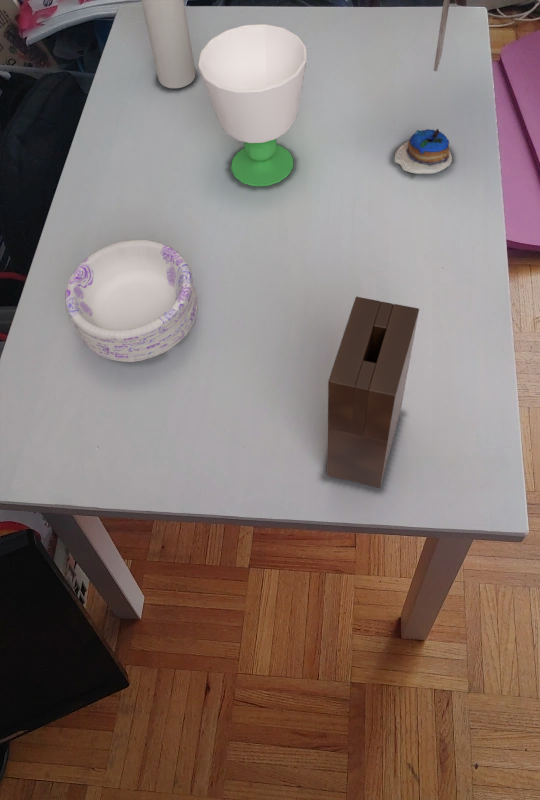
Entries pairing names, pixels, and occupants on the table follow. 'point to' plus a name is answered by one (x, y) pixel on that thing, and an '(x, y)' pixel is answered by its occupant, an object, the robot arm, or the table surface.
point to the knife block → (368, 389)
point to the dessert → (424, 152)
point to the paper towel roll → (170, 41)
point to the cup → (256, 95)
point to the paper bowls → (132, 300)
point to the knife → (441, 33)
